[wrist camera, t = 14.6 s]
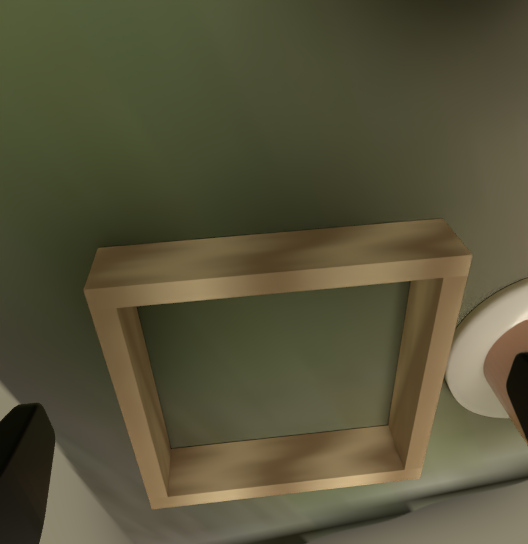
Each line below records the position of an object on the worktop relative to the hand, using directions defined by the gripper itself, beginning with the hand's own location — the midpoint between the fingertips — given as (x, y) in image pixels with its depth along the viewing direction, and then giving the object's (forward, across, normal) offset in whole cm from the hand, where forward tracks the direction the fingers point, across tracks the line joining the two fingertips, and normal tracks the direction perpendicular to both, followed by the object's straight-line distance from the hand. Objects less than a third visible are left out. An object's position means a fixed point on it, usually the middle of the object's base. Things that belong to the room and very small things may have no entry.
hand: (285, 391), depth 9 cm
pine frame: (+12, -1, +11) cm, 16 cm away
